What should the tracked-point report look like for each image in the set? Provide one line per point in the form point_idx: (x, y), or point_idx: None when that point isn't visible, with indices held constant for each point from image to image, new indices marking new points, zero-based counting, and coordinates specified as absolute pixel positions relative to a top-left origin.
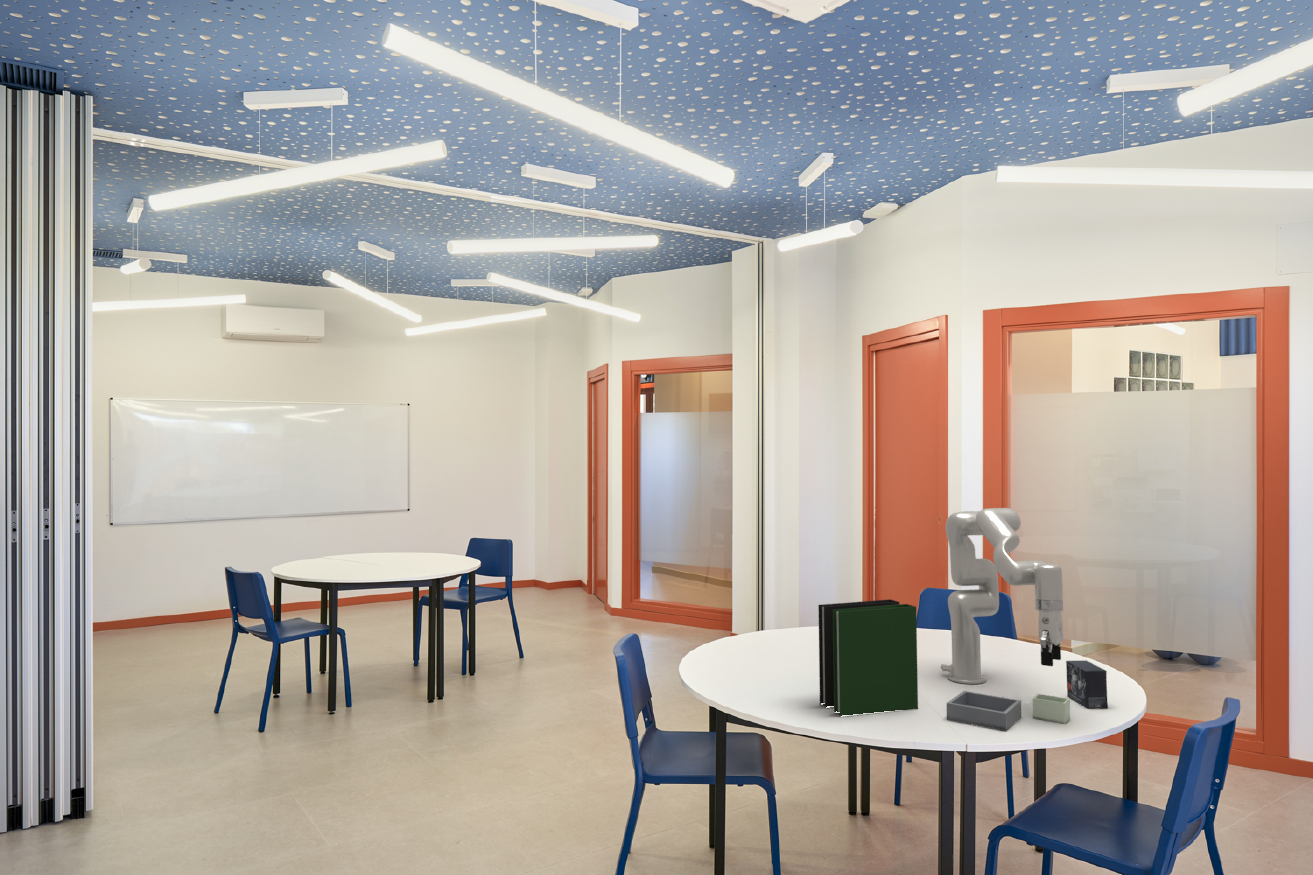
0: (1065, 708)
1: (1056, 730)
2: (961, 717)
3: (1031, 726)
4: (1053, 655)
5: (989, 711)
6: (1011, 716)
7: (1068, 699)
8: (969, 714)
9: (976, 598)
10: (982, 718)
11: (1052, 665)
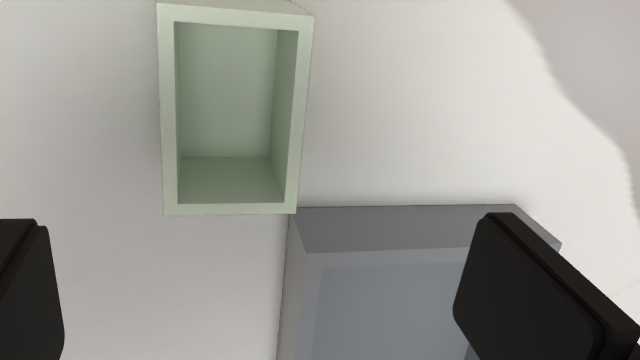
0: (302, 11)
1: (422, 29)
2: None
3: (410, 140)
4: (40, 336)
5: None
6: (463, 226)
7: (183, 9)
8: None
9: None
10: None
11: (510, 214)
